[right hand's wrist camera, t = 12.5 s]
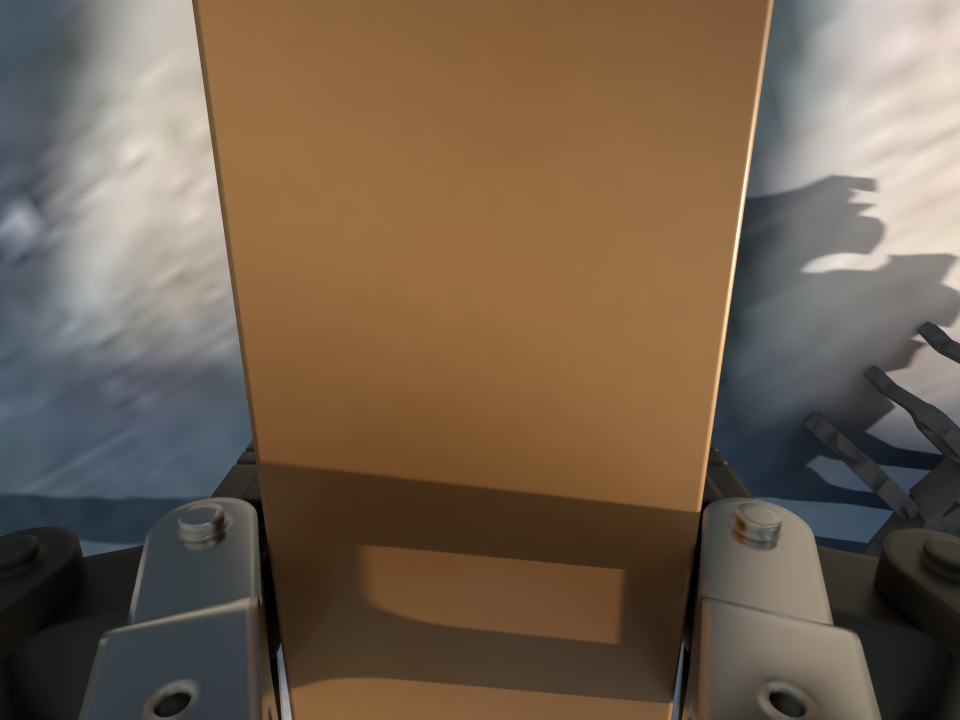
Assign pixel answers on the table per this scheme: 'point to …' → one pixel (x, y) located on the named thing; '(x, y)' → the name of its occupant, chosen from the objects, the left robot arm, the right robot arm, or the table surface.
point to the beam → (482, 334)
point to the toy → (940, 494)
